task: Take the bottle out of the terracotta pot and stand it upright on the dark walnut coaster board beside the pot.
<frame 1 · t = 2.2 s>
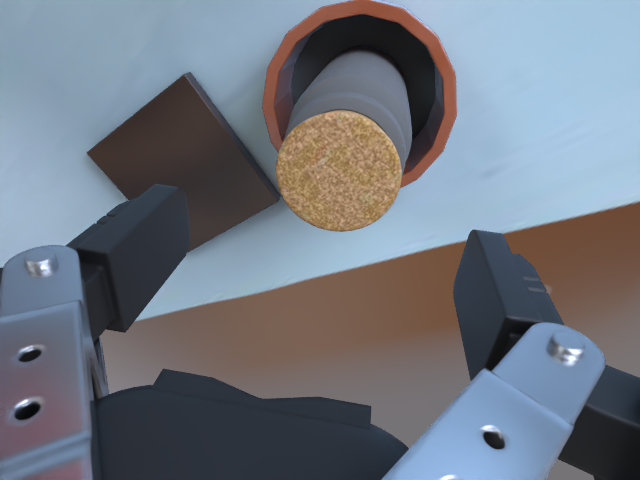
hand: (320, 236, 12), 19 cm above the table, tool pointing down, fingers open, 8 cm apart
bottle: (362, 92, 28), resting in terracotta pot
terracotta pot: (362, 92, 28), on the table
walnut board: (186, 172, 33), on the table
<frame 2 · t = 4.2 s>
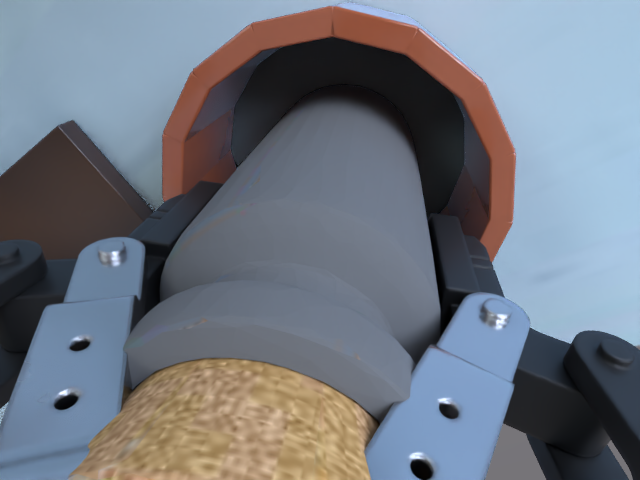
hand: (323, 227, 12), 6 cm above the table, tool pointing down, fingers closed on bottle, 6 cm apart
bottle: (344, 154, 18), resting in terracotta pot, touching gripper
terracotta pot: (343, 156, 17), on the table
walnut board: (89, 259, 22), on the table
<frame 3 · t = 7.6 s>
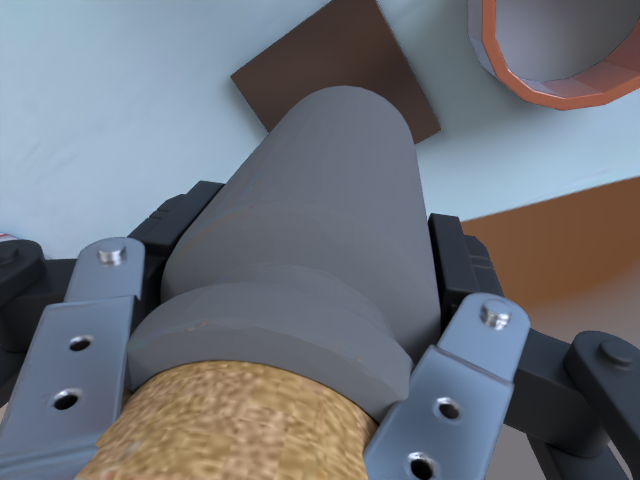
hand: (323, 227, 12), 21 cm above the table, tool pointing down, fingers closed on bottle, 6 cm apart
bottle: (344, 155, 18), point 14 cm above the table, touching gripper
walnut board: (336, 100, 30), on the table
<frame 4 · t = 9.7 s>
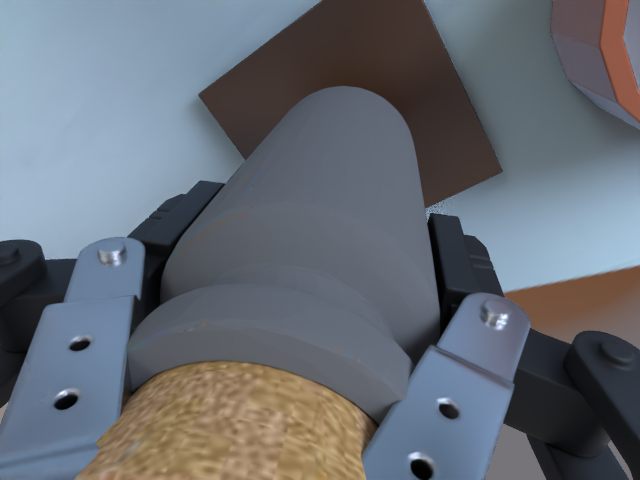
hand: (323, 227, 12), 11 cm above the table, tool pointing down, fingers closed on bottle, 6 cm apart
bottle: (344, 155, 18), point 4 cm above the table, touching gripper
walnut board: (351, 127, 21), on the table
when the fingers open (7 cm above the table, at t = 11.1 s): bottle stays where it is, resting on walnut board.
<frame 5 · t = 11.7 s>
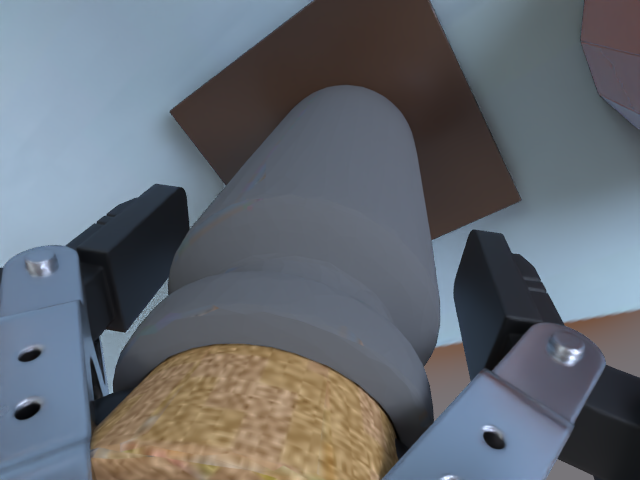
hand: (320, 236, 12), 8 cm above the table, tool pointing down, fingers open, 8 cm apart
bottle: (345, 153, 18), point 1 cm above the table, touching walnut board
walnut board: (346, 148, 19), on the table
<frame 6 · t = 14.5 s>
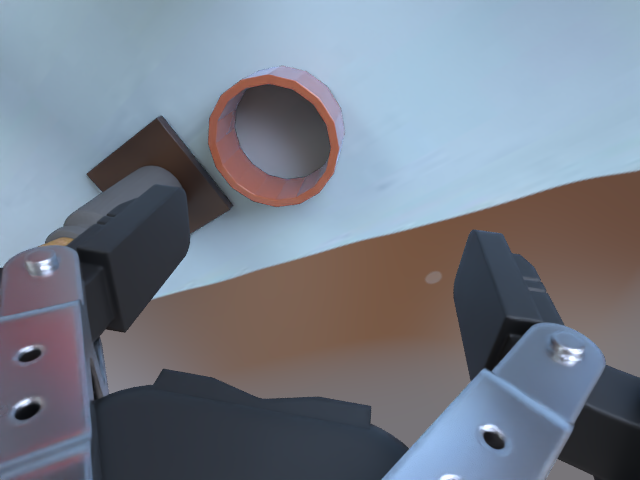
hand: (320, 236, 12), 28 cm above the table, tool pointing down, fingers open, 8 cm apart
bottle: (159, 190, 43), point 1 cm above the table, touching walnut board
terracotta pot: (285, 130, 39), on the table
walnut board: (162, 188, 44), on the table
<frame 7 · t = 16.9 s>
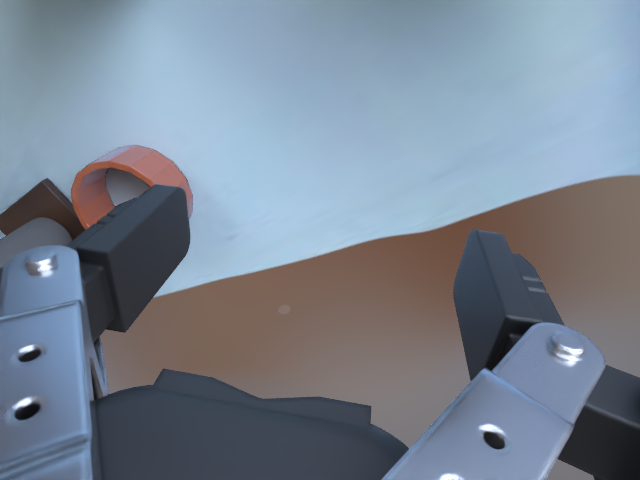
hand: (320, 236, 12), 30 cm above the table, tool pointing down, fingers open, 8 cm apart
bottle: (52, 236, 52), point 1 cm above the table, touching walnut board
terracotta pot: (146, 192, 47), on the table
walnut board: (56, 233, 52), on the table
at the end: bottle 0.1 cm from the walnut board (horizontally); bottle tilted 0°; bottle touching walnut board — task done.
